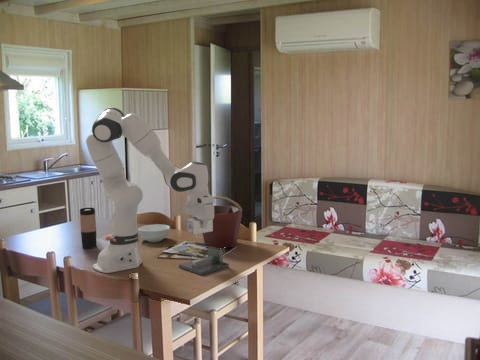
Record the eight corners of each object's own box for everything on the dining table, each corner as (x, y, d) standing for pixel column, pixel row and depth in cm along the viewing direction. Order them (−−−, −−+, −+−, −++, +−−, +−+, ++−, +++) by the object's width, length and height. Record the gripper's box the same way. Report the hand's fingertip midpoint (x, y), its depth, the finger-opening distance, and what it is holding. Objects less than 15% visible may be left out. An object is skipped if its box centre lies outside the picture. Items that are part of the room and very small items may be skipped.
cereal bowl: (173, 236, 299) (172, 224, 297) (166, 244, 282) (165, 231, 281) (143, 236, 300) (142, 223, 299) (134, 244, 284) (134, 231, 283)
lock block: (193, 234, 244) (193, 221, 243) (187, 231, 249) (186, 218, 248) (212, 231, 249) (212, 217, 248) (205, 228, 254) (205, 215, 253)
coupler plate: (201, 275, 233) (201, 258, 232) (179, 267, 244) (178, 251, 243) (228, 267, 244) (228, 251, 243) (205, 259, 255) (205, 244, 254)
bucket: (188, 245, 279) (187, 198, 275) (214, 236, 297) (213, 191, 294) (227, 253, 266) (226, 203, 262) (251, 242, 284) (251, 196, 280)
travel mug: (78, 247, 278) (76, 209, 275) (89, 244, 285) (87, 207, 282) (89, 249, 275) (87, 211, 272) (100, 245, 281) (98, 208, 278)
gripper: (182, 194, 253) (182, 223, 255) (204, 201, 236) (205, 231, 239) (193, 193, 257) (194, 221, 259) (216, 199, 240) (217, 229, 242)
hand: (199, 226), depth 249 cm, fingers closed on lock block, 6 cm apart
